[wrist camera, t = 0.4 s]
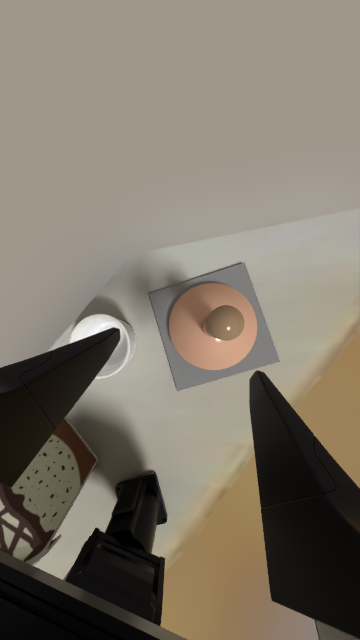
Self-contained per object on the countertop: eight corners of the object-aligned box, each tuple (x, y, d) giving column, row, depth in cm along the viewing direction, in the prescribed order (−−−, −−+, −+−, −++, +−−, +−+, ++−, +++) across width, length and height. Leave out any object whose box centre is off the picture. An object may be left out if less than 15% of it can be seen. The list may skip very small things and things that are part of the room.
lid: (266, 354, 23) (325, 373, 13) (183, 378, 23) (178, 414, 13) (238, 274, 24) (272, 233, 14) (160, 299, 24) (138, 278, 14)
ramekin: (147, 360, 24) (138, 366, 20) (97, 377, 25) (77, 387, 21) (130, 309, 25) (118, 304, 21) (82, 326, 26) (60, 326, 21)
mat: (278, 360, 23) (279, 361, 22) (177, 389, 24) (177, 390, 23) (243, 263, 24) (244, 262, 24) (149, 294, 25) (148, 293, 25)
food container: (30, 431, 25) (-77, 498, 15) (57, 405, 25) (-32, 456, 15) (76, 493, 24) (-7, 612, 14) (104, 467, 24) (42, 566, 14)
